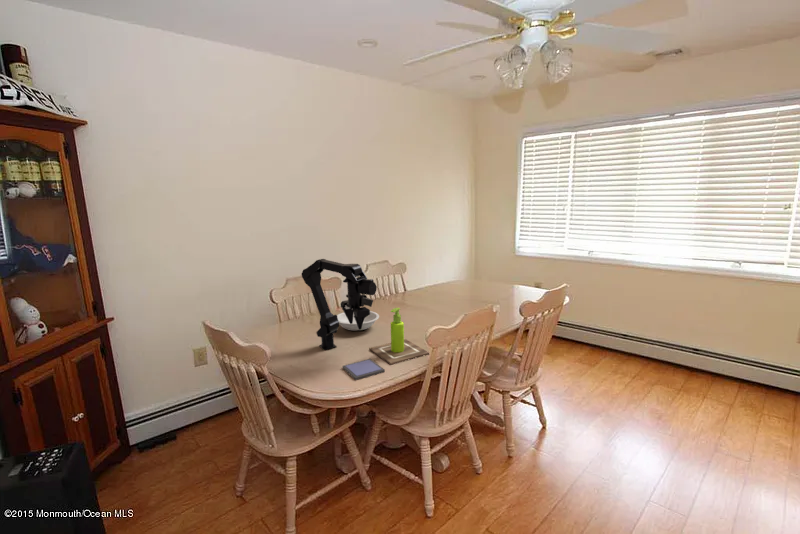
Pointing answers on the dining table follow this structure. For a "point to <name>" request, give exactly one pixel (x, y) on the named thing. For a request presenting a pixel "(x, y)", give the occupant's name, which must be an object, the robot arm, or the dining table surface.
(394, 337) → the soap dispenser
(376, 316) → the soup bowl
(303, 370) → the dining table surface
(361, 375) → the ink pad
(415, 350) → the board
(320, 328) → the robot arm
